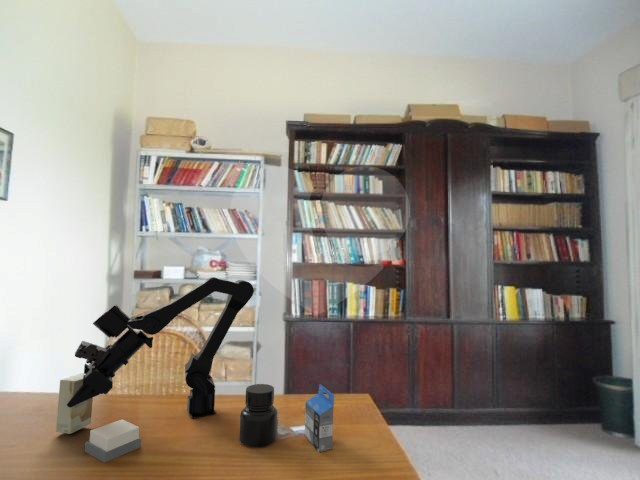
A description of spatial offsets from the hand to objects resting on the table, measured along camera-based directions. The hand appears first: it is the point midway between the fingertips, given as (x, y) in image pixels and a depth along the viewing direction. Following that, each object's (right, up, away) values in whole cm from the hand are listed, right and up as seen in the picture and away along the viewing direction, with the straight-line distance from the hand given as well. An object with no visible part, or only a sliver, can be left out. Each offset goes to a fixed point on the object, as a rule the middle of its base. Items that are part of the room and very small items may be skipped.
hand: (69, 401), depth 88 cm
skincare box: (+1, -7, 0) cm, 7 cm away
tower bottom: (+15, -8, -8) cm, 19 cm away
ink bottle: (+46, -9, -1) cm, 47 cm away
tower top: (+15, -5, -8) cm, 18 cm away
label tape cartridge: (+61, -9, -2) cm, 61 cm away
